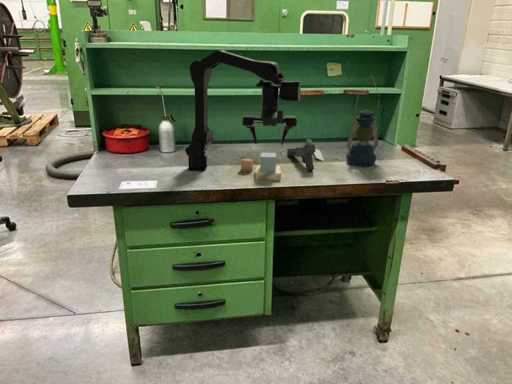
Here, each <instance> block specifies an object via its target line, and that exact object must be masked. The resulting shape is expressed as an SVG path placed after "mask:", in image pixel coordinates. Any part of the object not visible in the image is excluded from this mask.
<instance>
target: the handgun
mask: <svg viewBox="0 0 512 384" xmlns="http://www.w3.org/2000/svg"><path fill="white" fill-rule="evenodd" d="M315 149H316V146H315V144H313V145H306V144H305V145H303V147H295V148H287V150H286V151H287V152H286V156H287V157H297V158H298V157H299V158H301V159H302V160H301V162H302V163H303V164H305V167H306V168H305V169H306V172H313V171H314V169H315V167H314V161H313V154H314V152H315Z"/></svg>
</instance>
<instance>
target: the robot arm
mask: <svg viewBox="0 0 512 384" xmlns="http://www.w3.org/2000/svg"><path fill="white" fill-rule="evenodd" d="M220 64H224V65H228V66H230V67H234V68H237V69H240V70H243V71H248V72H250V73H252V74H254V75H255V76H257V77H258V78H260V79H259V81H258V83H256V85H255V86H256V87H258V88H260V87H261V115H260V116H261V117H255V115H254V114H244V115H243V116H242V126H245V128H247V129H249V130H250V133H251V135H252V137H253V140H254V144H255V145H257V143H258V140H257V139H258V138H257V132H256V131H257V130H256V124H262V125H263V126H264V127H267V126H271V127H276V126H277V125H278V124H283V127H282V132H281V133H282V134H281V139H280V141H281V142H280V144H281V146H283V144H284V142H285V139H286V137H287V134H288V132H289V131H290V129H293V127H297V125H298V124H297V122H298V119H297V117H296V115H284V110H279V98H280V100H282V101H283V102H291V103H292V102H293V103H300V102H301V98H302V90H301V89H302V88H301V81H300V80H295V81H292V80H291V81H289V80H288V81H287V80H286V77H285V76H284V74H283V73H282V70H281V66H280V65H279V63H278V62H277V61H276V62H275V61H269V60H255V59H252V58H249V57H246V56H242V55H239V54H236V53H233V52H229V51H226V50H224V49H217V50H215V51H214V52H212V53H211V54H208V55H207V56H205V57H204V58H201V59H199V60H198V59H197V60H194V61H193V62H191V63H190V64H189V73H190V75H189V76H190V79H191V82H192V84H193V87H194V129H193V131H192V133H191V139H190V144H189V145H188V146H187V147H186V148H185V149H184V151H185V153H186V156H187V158H188V159H187V160H188V167H187V170H188V171H206V169H207V168H208V165H209V164H208V155H206V152H207V150H208V148H209V146H211V145H212V142H213V141H214V137H213V134H214V129H210V128H209V125H208V118H209V117H208V115H209V114H208V88H209V86H208V85H209V83H210V80H211V77H212V70H213V69H215V68H216V67H217V66H219V65H220Z"/></svg>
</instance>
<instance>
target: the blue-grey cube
mask: <svg viewBox="0 0 512 384" xmlns="http://www.w3.org/2000/svg"><path fill="white" fill-rule="evenodd" d="M259 165H260V172H276V166H277V153H276V152H260V164H259Z"/></svg>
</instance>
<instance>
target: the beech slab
mask: <svg viewBox="0 0 512 384" xmlns="http://www.w3.org/2000/svg"><path fill="white" fill-rule="evenodd" d="M260 165H261V164H259V165H255V175H254V176H255V177H254V178H255V181H256V180H257V181H261V180H262V181H281V178H282V172H281V166H280V165H276V172H260Z"/></svg>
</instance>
